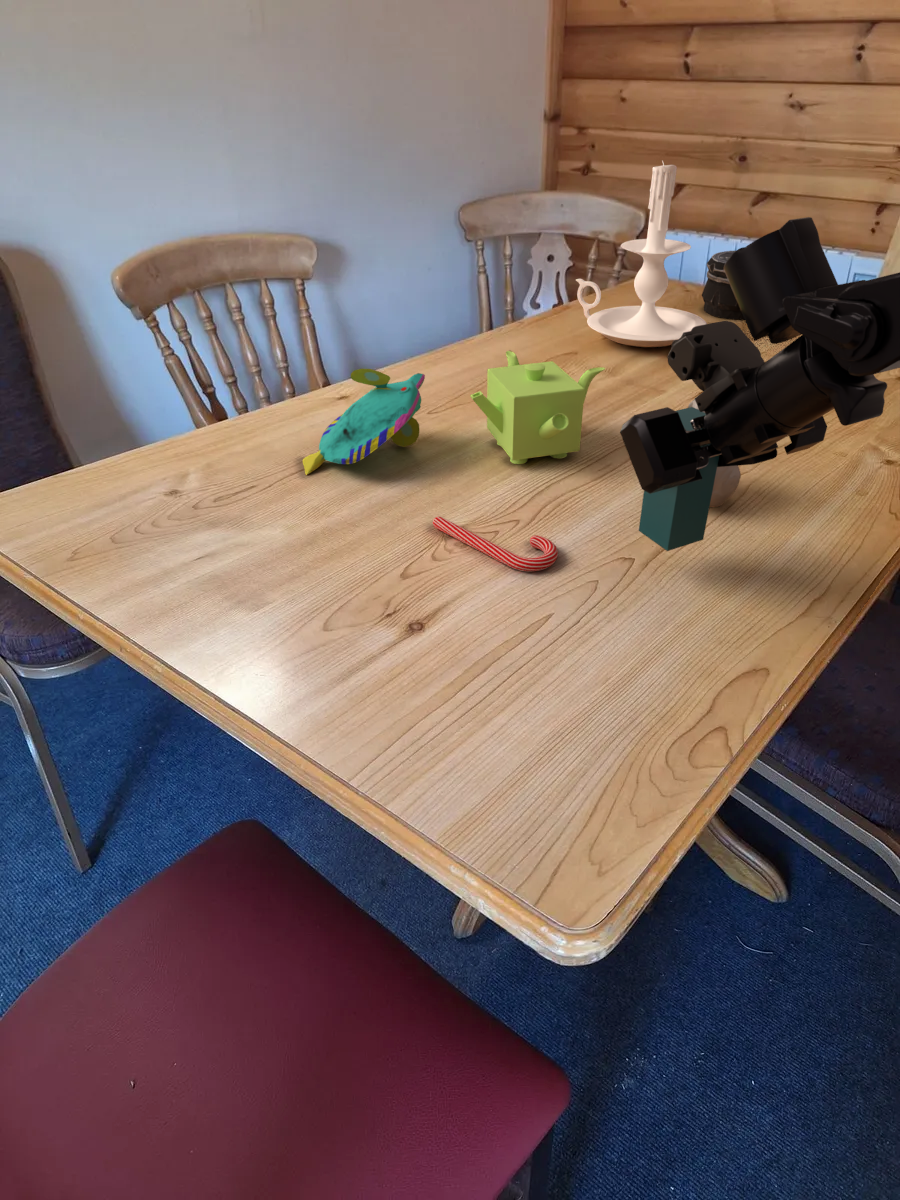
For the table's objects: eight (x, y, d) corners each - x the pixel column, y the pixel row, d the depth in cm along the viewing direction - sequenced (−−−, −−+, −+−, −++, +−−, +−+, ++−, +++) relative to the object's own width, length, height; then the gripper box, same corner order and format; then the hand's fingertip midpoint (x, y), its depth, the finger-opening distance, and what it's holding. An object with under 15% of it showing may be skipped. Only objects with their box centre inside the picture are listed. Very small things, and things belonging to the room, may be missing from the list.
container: (721, 323, 145) (732, 267, 139) (687, 305, 155) (695, 252, 149) (781, 317, 148) (794, 261, 142) (743, 299, 158) (753, 247, 152)
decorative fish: (393, 325, 101) (422, 360, 89) (438, 402, 108) (470, 443, 96) (269, 408, 102) (280, 453, 90) (322, 478, 110) (339, 528, 98)
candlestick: (600, 313, 152) (614, 149, 136) (722, 334, 140) (754, 156, 123) (544, 341, 139) (552, 163, 123) (673, 367, 127) (702, 173, 110)
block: (703, 539, 75) (726, 422, 68) (667, 551, 74) (686, 433, 67) (673, 520, 78) (692, 406, 71) (638, 530, 77) (653, 415, 70)
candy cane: (467, 510, 90) (467, 498, 89) (569, 557, 81) (570, 545, 80) (429, 529, 87) (429, 517, 86) (531, 581, 78) (531, 568, 77)
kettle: (505, 419, 111) (508, 340, 104) (600, 437, 106) (609, 355, 99) (457, 460, 100) (456, 375, 94) (560, 483, 95) (567, 394, 88)
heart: (644, 515, 87) (680, 417, 80) (639, 476, 95) (671, 383, 87) (733, 533, 87) (776, 436, 80) (720, 493, 95) (759, 401, 87)
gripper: (834, 281, 63) (716, 374, 77) (649, 315, 56) (557, 410, 71) (889, 406, 62) (757, 476, 76) (706, 456, 55) (600, 523, 70)
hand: (671, 468), depth 73 cm, fingers closed on block, 4 cm apart
